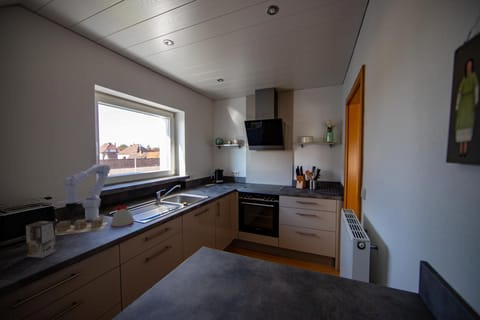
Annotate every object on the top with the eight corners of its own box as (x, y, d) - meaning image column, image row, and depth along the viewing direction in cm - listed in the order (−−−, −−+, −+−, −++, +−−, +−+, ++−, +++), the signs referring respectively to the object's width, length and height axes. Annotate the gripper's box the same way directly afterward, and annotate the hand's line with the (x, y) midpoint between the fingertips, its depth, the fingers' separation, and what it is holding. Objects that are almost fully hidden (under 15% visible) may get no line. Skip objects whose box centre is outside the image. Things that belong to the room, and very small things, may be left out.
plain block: (60, 228, 119) (60, 221, 119) (70, 227, 121) (70, 220, 121) (56, 232, 115) (56, 224, 114) (66, 230, 117) (66, 223, 116)
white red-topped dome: (113, 222, 135) (113, 202, 134) (134, 219, 141) (134, 201, 140) (109, 229, 122) (109, 208, 122) (132, 226, 128) (132, 206, 128)
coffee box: (56, 251, 95) (56, 221, 95) (42, 258, 89) (41, 226, 88) (41, 249, 96) (40, 220, 95) (25, 256, 90) (25, 225, 89)
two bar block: (94, 225, 126) (94, 218, 126) (102, 224, 128) (102, 217, 128) (91, 228, 121) (91, 220, 121) (100, 227, 123) (100, 219, 123)
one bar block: (77, 227, 123) (77, 219, 123) (86, 226, 125) (86, 218, 124) (74, 230, 118) (74, 222, 118) (83, 229, 120) (83, 221, 120)
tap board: (60, 227, 123) (60, 226, 123) (109, 222, 134) (109, 221, 134) (45, 238, 109) (45, 236, 109) (102, 231, 119) (102, 229, 119)
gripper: (54, 196, 117) (54, 217, 117) (82, 195, 122) (82, 214, 123) (60, 194, 123) (60, 213, 124) (86, 193, 129) (86, 211, 130)
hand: (71, 214), depth 124 cm, fingers closed
